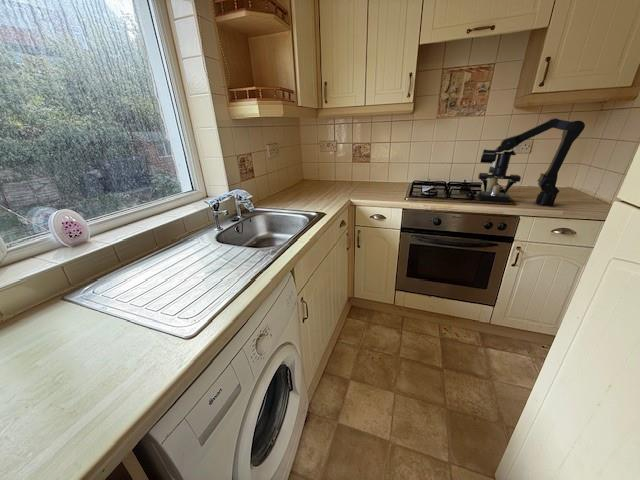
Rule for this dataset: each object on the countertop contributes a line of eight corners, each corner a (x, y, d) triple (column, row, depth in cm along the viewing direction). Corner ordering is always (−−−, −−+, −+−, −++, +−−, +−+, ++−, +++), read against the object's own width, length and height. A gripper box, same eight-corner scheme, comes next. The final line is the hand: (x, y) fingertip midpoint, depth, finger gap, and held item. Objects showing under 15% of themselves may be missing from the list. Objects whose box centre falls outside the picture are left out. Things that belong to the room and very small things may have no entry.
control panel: (504, 198, 148) (506, 192, 146) (508, 202, 139) (509, 196, 138) (478, 196, 152) (479, 190, 151) (480, 200, 144) (481, 194, 143)
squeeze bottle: (482, 194, 156) (489, 163, 149) (478, 191, 164) (485, 161, 156) (497, 194, 155) (505, 163, 147) (492, 191, 162) (500, 161, 155)
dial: (498, 193, 146) (500, 184, 144) (499, 195, 142) (501, 186, 140) (489, 192, 147) (491, 184, 145) (490, 194, 144) (492, 185, 142)
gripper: (520, 162, 141) (511, 191, 148) (480, 161, 148) (474, 188, 155) (525, 165, 132) (515, 195, 138) (482, 163, 139) (475, 192, 145)
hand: (494, 192), depth 144 cm, fingers open, 9 cm apart
